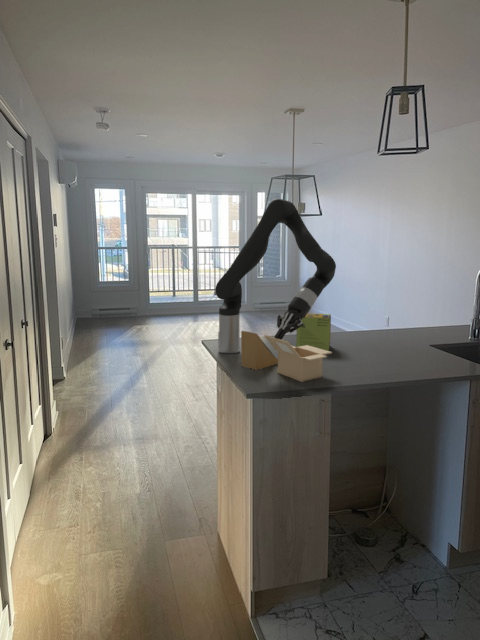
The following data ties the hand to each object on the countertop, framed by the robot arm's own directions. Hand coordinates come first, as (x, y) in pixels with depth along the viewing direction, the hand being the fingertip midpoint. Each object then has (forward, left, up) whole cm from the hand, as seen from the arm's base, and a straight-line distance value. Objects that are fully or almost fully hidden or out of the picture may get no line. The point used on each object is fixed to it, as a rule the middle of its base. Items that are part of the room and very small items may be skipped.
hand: (277, 339), depth 177 cm
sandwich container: (-7, +21, -16) cm, 27 cm away
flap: (+2, +2, -3) cm, 4 cm away
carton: (+10, +9, -16) cm, 21 cm away
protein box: (+14, +53, -16) cm, 57 cm away
